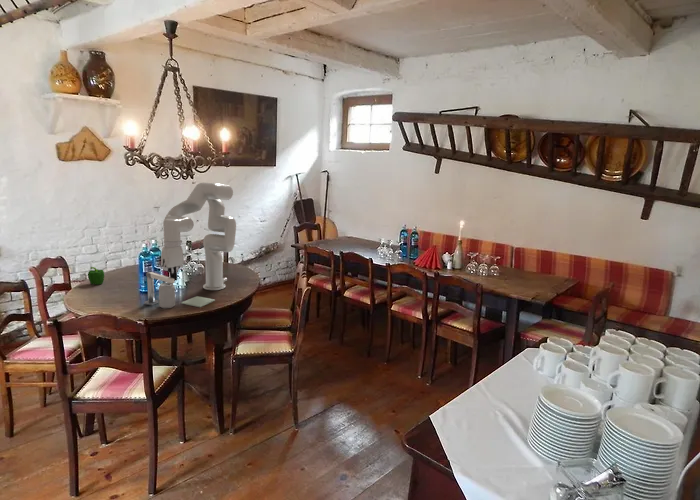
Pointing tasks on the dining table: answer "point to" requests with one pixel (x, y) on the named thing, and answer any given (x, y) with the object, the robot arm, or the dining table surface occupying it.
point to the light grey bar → (160, 277)
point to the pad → (198, 301)
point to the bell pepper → (96, 276)
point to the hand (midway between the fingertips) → (173, 280)
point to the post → (151, 292)
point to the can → (166, 295)
